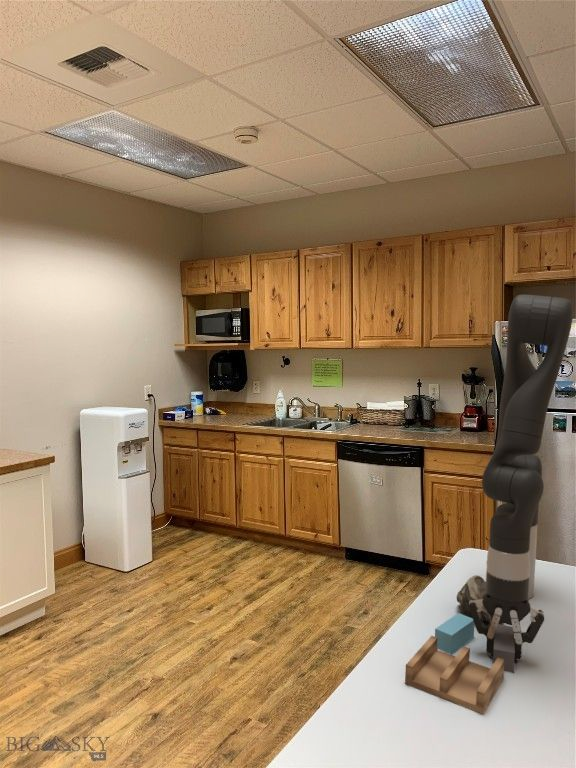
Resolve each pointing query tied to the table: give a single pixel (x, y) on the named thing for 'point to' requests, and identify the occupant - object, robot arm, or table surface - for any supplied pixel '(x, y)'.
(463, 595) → the brown rock
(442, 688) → the block
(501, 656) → the dark gray block
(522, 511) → the robot arm
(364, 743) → the table surface
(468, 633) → the tall teal pillar
